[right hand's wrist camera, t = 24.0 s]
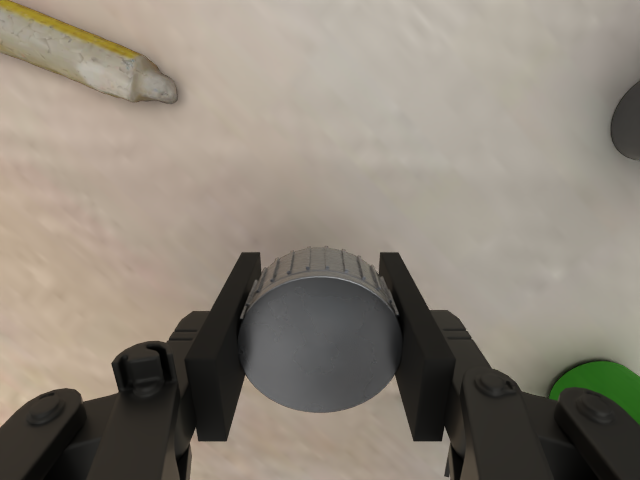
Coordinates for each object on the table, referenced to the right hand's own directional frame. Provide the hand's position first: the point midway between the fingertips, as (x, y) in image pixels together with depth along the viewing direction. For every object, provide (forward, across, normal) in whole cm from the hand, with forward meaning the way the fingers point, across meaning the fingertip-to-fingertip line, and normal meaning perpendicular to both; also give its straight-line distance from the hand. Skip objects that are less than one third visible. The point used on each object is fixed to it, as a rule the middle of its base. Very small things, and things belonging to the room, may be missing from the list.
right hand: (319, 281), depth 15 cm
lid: (-4, 0, 0) cm, 4 cm away
